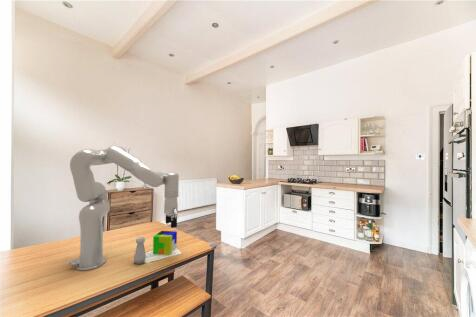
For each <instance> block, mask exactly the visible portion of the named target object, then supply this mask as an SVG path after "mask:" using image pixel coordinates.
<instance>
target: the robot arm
mask: <svg viewBox="0 0 476 317" xmlns="http://www.w3.org/2000/svg"><path fill="white" fill-rule="evenodd" d="M106 164H107V165H108V164H115V165H116V166H118V167H120V168H121V169H124V170H125V171H126V172H128V173H130V174H131V175H132V176H133V177H135V178H136V179H137V180H139V181H141V182H142V183H145V184H146V185H148V186H150V187H152V188H158V187H160V186H163V185H164V203H163V204H164V205H163V208H164V209H163V213H164V214H165V224H170V228H172V229H173V228H177V227H178V212H179V209H178V207H179V206H178V203H179V202H178V198H179V182H180V181H179V179H180V178H179V177H180V176H179V173H178V172H161V171H158V172H156V171H154V170H153V169H151V168H149V167H148V166H146V165H145V164H144V163H143V162H142V161H141V159H139V158H138V157H137V156H135V155H133V154H131V153H129V152H128V151H127V149H125V148H124V147H122V146H118V145H112V146H111V145H110V146H109V147H107V148H105V149H89V148H88V149H86V148H85V149H82V150H79V151H77V152H76V153H75V154H74V155H72V157H71V158H70V162H69V169H70V172H71V176H72V179H73V185H74V188H75V193H76V196H77V199H78V200H79V201H81V202H83V203H87V202H88V204H87V205H85V206H83V207H82V208H81V210H80V211H79V214H78V221H79V227H80V228H79V230H80V231H79V232H80V240H79V241H80V245H79V246H80V247H79V249H80V250H79V253H80V254H79V257H77V258H76V259H72V260H71V259H70V260H68V266H70V265H71V267H72V266H75V268H76V270H77V271H90V270H94V269H96V268H99V267H101V266H103V265H104V264H105V263H106V261H107V258H106V257H105V256H103V254H104V252H103V248H104V246H103V245H104V225H103V222H102V219H103V218H104V217H106V216H107V214H108V213H109V212H110V208H111V206H110V201H109V197H108V193H107V190H106V187H105V186H104V184H103V183H101V182H99V181H96V180H95V176H94V173H93V171H92V169H91V167H92V166H102V165H106Z"/></svg>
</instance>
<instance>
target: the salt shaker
mask: <svg viewBox="0 0 476 317" xmlns="http://www.w3.org/2000/svg"><path fill="white" fill-rule="evenodd" d="M145 242H146V241H145V237H144V236H141V237H140V236H139V237H137V238H136V239H135V243H136V248H135V252H134V257H133V261H134V263H135V264H136V265H141V264H143V263H145V262H144V261H145V259H146V254H145V253H146V249H145Z"/></svg>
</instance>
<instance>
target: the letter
mask: <svg viewBox="0 0 476 317" xmlns="http://www.w3.org/2000/svg"><path fill="white" fill-rule="evenodd" d="M145 254H146V259H145V261H144V262H143V263H144V264H148V263H151V262H155V261H156V262H157V261H159V260H163V259H167V258H171V257H174V256H177V255H181V254H182V252H181V250H180V249H178V248H176V249H175V250H174V251H173V252H172V253H171V254H170V255H164V254H153V250H151V251H147V252H146V251H145Z"/></svg>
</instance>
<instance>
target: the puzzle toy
mask: <svg viewBox="0 0 476 317" xmlns="http://www.w3.org/2000/svg"><path fill="white" fill-rule="evenodd" d="M177 235H178V232H177V231H172V230H160V231H159V232H158V233H156V234H155V235H154V236H153V240H152V242H153V245H152V251H153V254H164V255H170V254H171V253H172V252H173V251H174V250H175V249H176V248H177V245H178V244H177V242H178V241H177V239H178V237H177ZM177 249H178V248H177Z"/></svg>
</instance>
